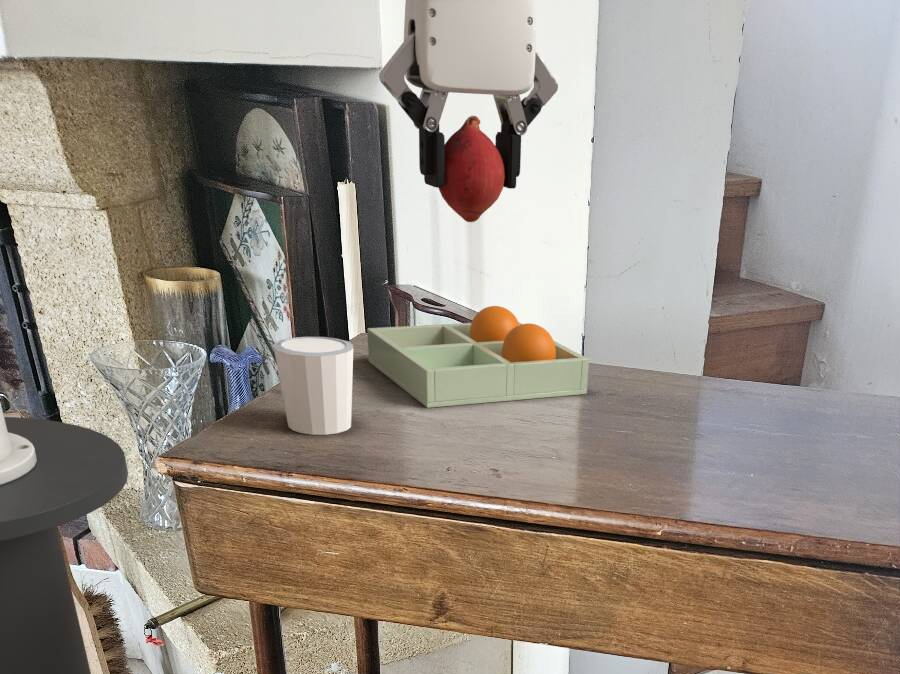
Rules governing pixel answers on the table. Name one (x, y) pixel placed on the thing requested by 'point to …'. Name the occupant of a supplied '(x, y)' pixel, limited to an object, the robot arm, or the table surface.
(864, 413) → the table surface
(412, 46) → the robot arm
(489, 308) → the clementine
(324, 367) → the white cup
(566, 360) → the tray
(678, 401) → the table surface
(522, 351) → the clementine
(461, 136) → the onion
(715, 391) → the table surface
